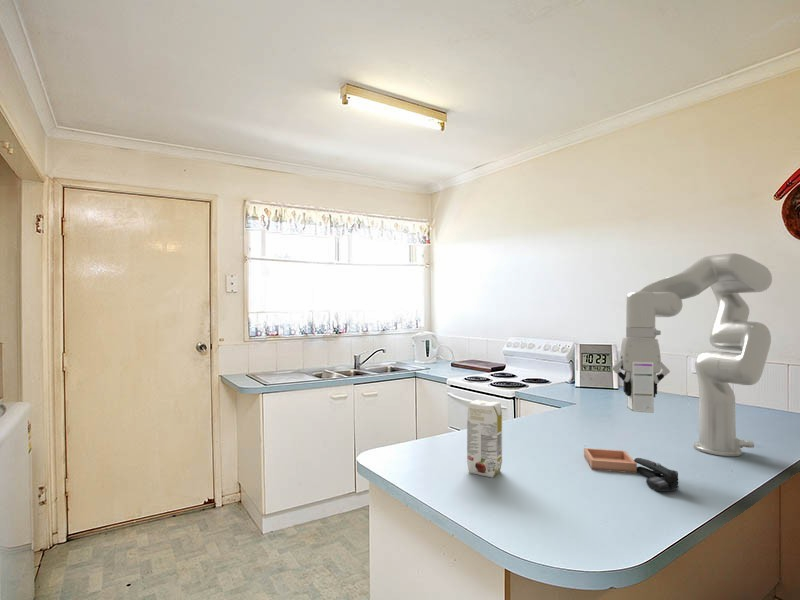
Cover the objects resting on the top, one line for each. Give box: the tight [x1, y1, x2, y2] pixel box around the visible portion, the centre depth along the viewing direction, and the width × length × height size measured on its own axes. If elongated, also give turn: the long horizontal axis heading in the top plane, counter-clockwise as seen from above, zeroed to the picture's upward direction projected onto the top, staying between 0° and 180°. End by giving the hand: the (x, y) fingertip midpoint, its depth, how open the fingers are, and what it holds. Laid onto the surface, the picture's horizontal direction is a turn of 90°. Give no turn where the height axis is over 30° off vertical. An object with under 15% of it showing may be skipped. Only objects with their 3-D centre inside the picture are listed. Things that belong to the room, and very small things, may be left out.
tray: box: [583, 447, 638, 473], centre depth 131 cm, size 12×12×2 cm
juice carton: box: [466, 399, 503, 478], centre depth 124 cm, size 8×9×19 cm
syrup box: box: [626, 361, 655, 414], centre depth 131 cm, size 6×6×14 cm
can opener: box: [633, 457, 679, 492], centre depth 118 cm, size 18×7×6 cm, turn 177°
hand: (640, 395), depth 131 cm, fingers closed on syrup box, 5 cm apart
